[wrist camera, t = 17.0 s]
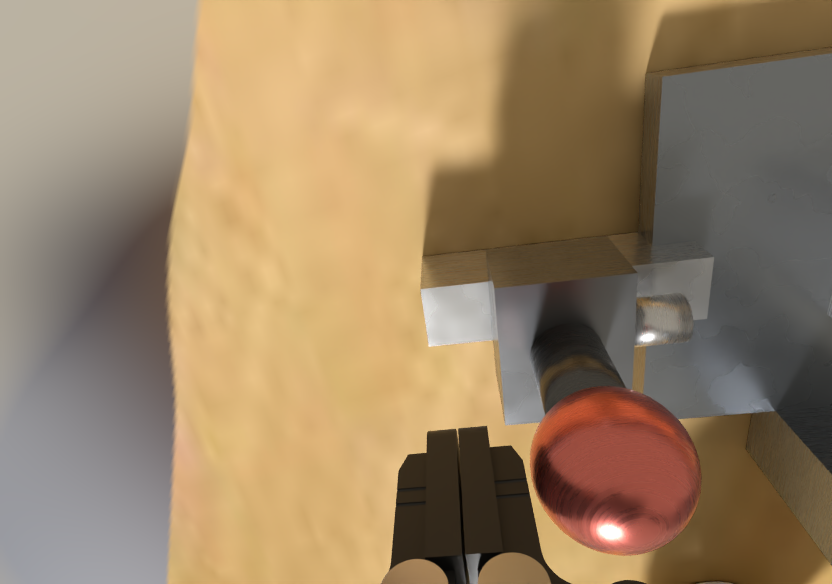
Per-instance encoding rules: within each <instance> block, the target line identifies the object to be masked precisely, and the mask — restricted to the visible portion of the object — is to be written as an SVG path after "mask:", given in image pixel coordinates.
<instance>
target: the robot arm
mask: <svg viewBox="0 0 832 584" xmlns="http://www.w3.org/2000/svg"><path fill="white" fill-rule="evenodd" d="M458 434H459V444H458V437H457V431H456V429H449V430H438V431H428V432H427V453H421V454H409V455H408V456H407V458H406V459H405V461H404V463H403V464H402V466H401V468H400V470H399V473H398V485H397V498H396V510H395V522H394V534H393V546H392V558H391V566H390V569H389V572H388V573H387V574H386V576H385V577H384V579H383V581H382V583H381V584H571V583H568V582H566V581H565V580H563V579H561V578H560V577H559V576H557V575H556V574H555V573H554V572H553V571H552V570H551V569H550V568H549V566H548V565H547V564H546V562H545V560H544V558H543V555H542V552H541V548H540V543H539V538H538V533H537V528H536V523H535V518H534V513H533V508H532V503H531V498H530V494H529V489H528V484H527V479H526V474H525V469H524V464H523V460H522V459H521V457H520V456H519V455H518V454H517V452H516V451H515V450H514V449H513V447H512V446H500V447H490V445H489V438H488V430H487V426H481V427H470V428H459V429H458ZM613 584H646V583H643V582H639V581H634V580H624V581H618V582H615V583H613Z"/></svg>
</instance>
